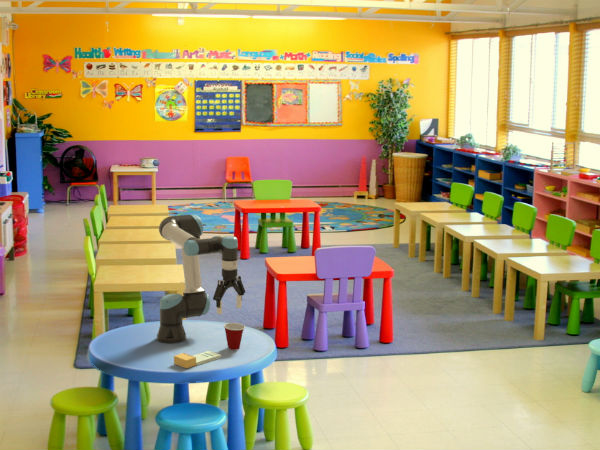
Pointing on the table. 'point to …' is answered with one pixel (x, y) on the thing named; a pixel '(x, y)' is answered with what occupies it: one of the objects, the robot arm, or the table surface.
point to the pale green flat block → (206, 357)
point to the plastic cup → (234, 335)
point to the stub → (184, 360)
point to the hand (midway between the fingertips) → (229, 310)
